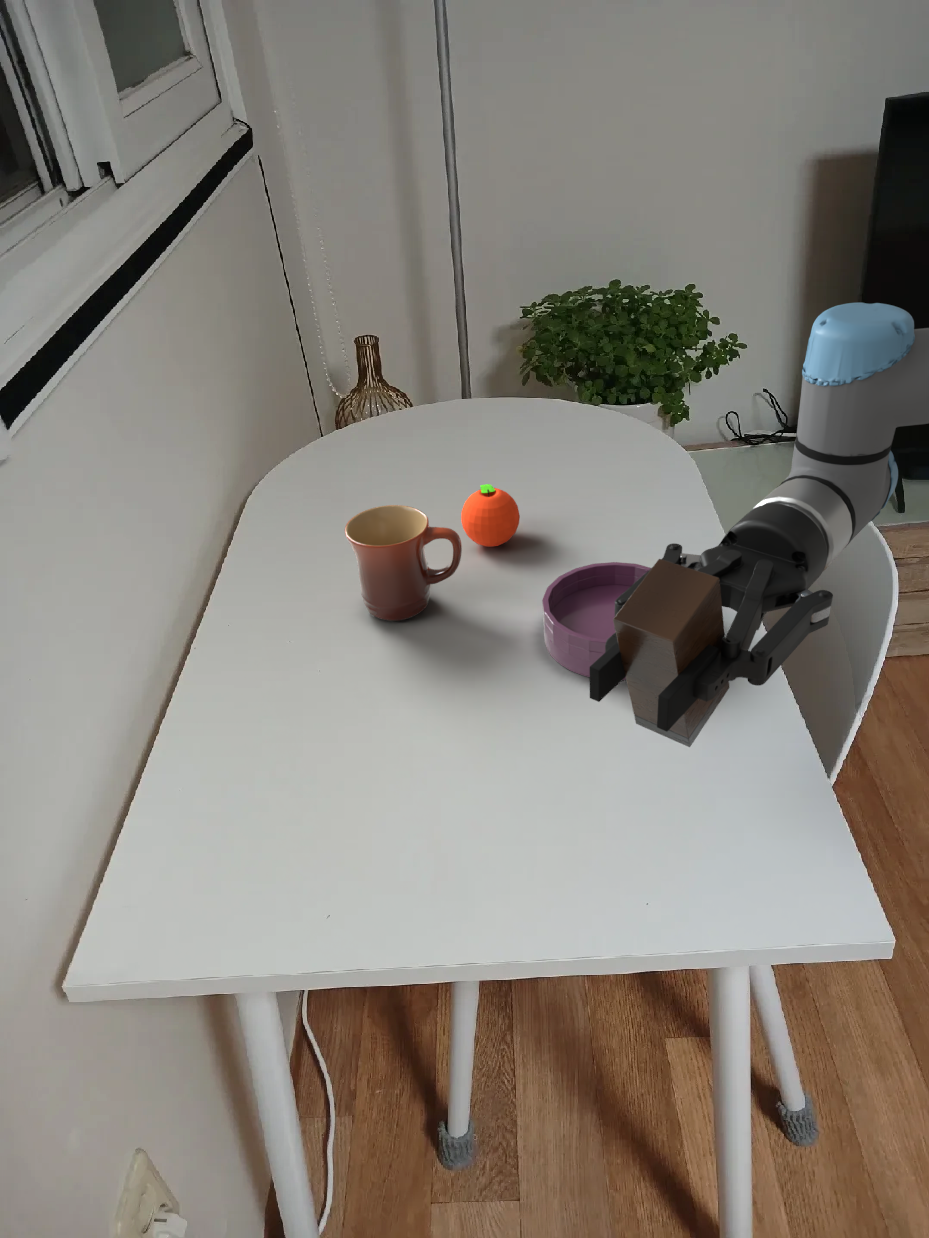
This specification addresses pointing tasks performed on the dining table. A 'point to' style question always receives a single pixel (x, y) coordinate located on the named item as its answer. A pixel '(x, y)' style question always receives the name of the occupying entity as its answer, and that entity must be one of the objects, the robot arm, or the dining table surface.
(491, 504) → the clementine
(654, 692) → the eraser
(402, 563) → the mug
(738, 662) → the robot arm
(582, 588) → the bowl
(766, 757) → the dining table surface
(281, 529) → the dining table surface
